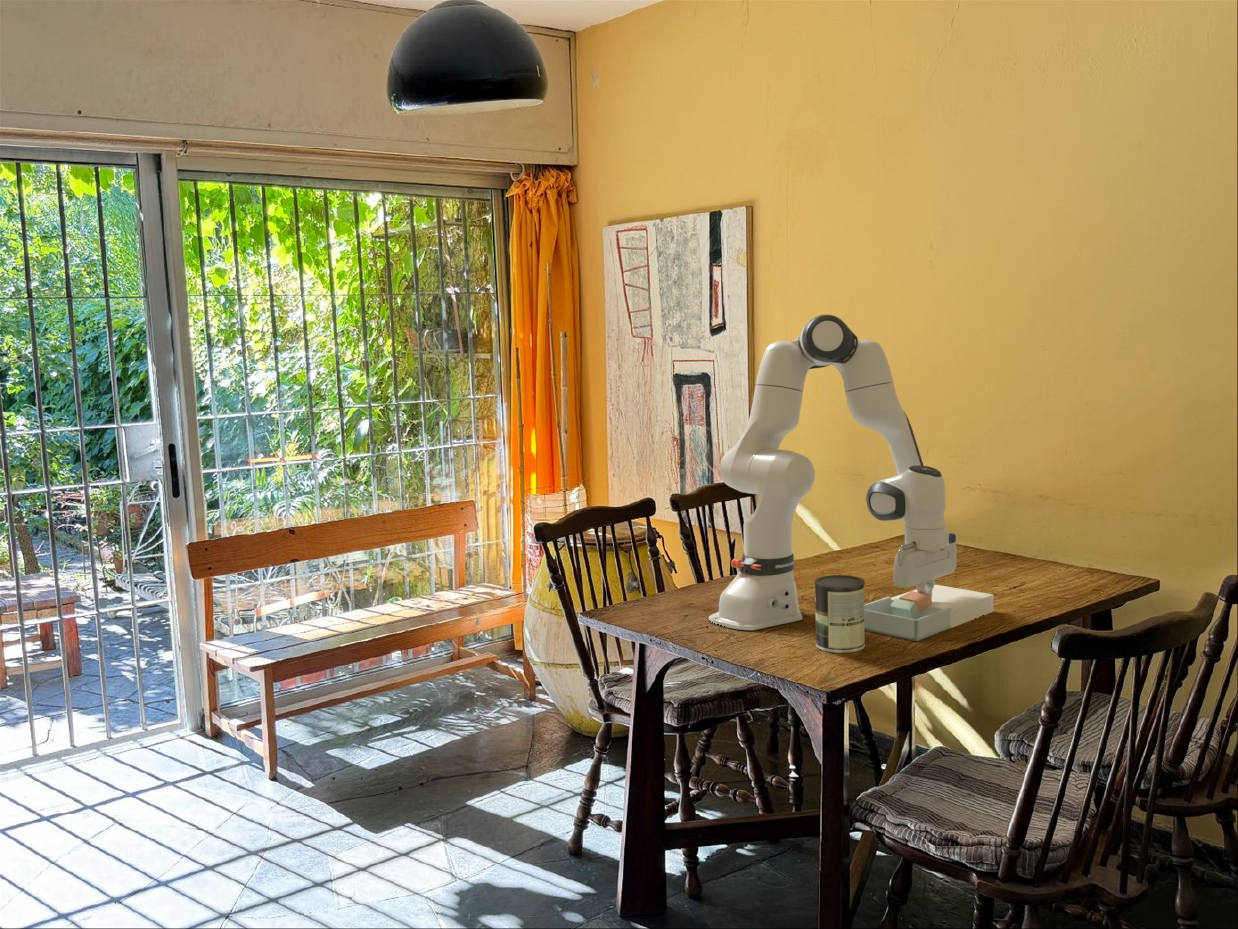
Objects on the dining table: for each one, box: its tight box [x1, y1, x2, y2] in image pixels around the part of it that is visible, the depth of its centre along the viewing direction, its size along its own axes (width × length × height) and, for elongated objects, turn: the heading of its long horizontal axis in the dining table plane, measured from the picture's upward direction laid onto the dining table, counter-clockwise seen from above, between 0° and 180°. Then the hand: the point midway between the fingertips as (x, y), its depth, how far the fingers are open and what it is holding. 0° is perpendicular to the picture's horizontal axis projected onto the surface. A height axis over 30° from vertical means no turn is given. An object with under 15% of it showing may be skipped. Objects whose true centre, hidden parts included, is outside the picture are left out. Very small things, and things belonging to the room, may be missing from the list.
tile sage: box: [890, 599, 921, 620], centre depth 250 cm, size 5×5×2 cm
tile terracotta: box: [899, 590, 932, 611], centre depth 252 cm, size 5×5×2 cm
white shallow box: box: [891, 584, 995, 629], centre depth 259 cm, size 18×16×4 cm
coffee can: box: [813, 574, 866, 654], centre depth 237 cm, size 10×10×14 cm
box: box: [864, 596, 951, 642], centre depth 249 cm, size 13×16×4 cm
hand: (925, 599), depth 255 cm, fingers closed
